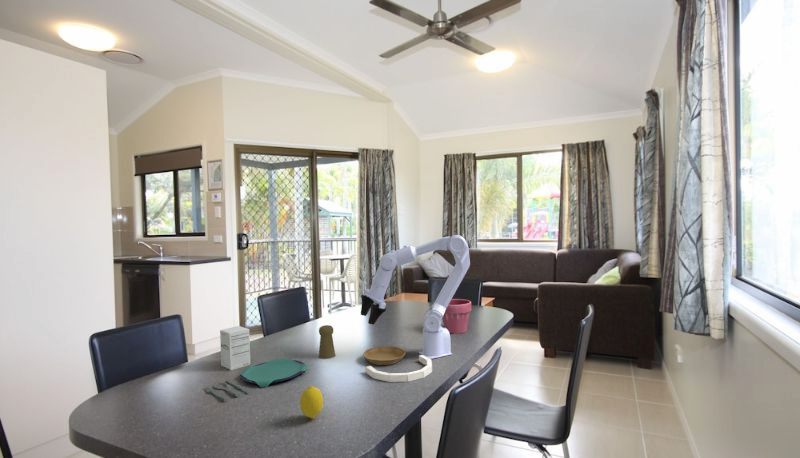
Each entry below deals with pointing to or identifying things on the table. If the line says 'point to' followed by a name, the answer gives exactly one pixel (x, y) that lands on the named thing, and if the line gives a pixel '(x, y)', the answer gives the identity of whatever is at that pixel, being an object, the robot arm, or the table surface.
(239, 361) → the supplement box
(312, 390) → the lemon
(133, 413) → the table surface
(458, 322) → the plant pot
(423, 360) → the centring cradle
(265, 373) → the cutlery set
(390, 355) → the plant saucer
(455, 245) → the robot arm
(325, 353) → the cork
